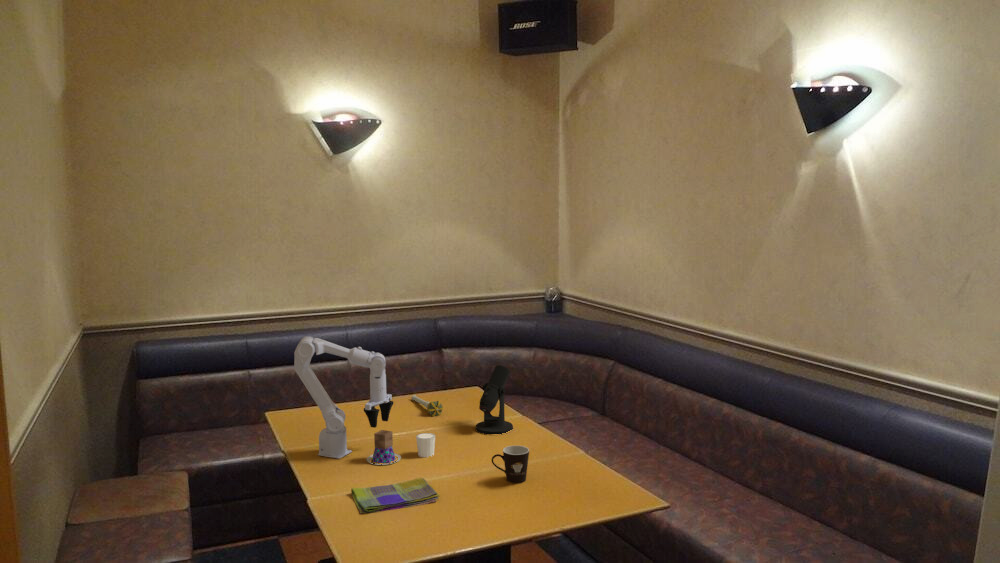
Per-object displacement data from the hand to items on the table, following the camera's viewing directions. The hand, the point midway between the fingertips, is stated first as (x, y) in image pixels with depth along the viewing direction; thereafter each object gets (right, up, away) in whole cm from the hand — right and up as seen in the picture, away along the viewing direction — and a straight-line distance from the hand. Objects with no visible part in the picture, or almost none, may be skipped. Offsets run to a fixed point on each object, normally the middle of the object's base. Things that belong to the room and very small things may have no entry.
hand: (379, 424), depth 263 cm
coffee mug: (+47, -13, -25) cm, 55 cm away
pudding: (+3, -12, -6) cm, 14 cm away
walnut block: (+3, -6, -7) cm, 10 cm away
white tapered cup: (+17, -11, -2) cm, 20 cm away
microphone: (+41, -7, +27) cm, 50 cm away
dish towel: (+11, -16, -38) cm, 43 cm away
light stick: (+11, -4, +55) cm, 56 cm away
